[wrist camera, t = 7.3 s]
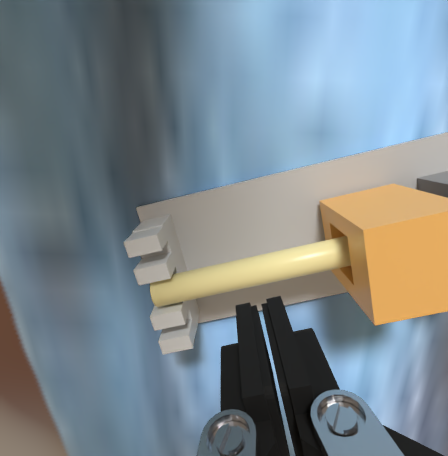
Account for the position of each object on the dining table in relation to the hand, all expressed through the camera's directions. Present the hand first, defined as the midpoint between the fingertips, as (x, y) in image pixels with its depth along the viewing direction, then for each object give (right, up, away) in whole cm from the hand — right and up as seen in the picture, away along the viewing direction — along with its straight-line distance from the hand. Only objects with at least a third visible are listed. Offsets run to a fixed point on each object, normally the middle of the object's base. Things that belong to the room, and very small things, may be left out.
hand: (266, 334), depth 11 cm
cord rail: (+4, +3, +11) cm, 12 cm away
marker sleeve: (+8, +4, +11) cm, 14 cm away
